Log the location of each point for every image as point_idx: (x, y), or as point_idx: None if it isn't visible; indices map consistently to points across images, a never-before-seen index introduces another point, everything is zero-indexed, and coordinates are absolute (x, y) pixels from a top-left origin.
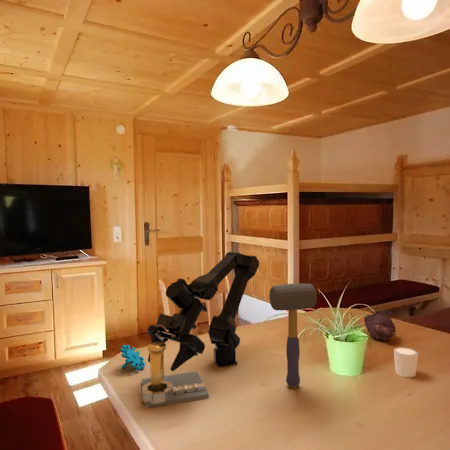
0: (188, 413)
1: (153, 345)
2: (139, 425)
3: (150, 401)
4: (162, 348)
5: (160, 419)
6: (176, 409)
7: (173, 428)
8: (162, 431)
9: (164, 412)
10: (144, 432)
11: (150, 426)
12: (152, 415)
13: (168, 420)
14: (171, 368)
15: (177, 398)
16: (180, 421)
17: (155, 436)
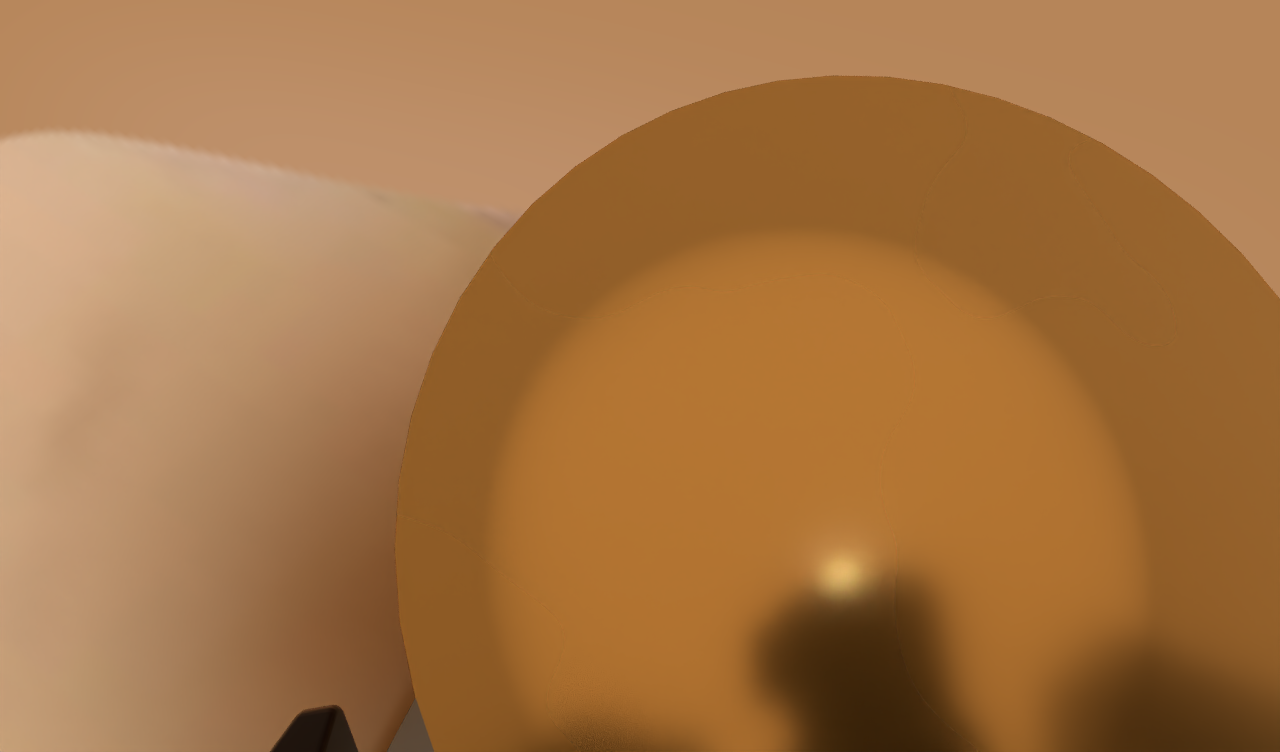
0: (118, 676)
1: (987, 366)
2: (361, 185)
3: None
4: (412, 573)
5: (283, 376)
6: (302, 620)
7: (45, 379)
8: (100, 277)
9: (359, 481)
10: (230, 160)
11: (263, 244)
12: (411, 359)
13: (200, 424)
14: (301, 724)
15: (413, 741)
16: (76, 505)
17: (95, 193)
